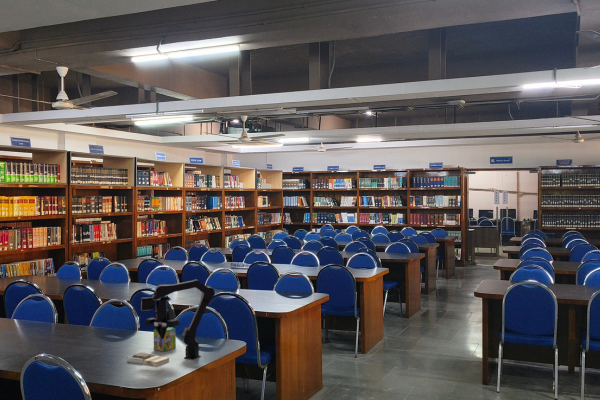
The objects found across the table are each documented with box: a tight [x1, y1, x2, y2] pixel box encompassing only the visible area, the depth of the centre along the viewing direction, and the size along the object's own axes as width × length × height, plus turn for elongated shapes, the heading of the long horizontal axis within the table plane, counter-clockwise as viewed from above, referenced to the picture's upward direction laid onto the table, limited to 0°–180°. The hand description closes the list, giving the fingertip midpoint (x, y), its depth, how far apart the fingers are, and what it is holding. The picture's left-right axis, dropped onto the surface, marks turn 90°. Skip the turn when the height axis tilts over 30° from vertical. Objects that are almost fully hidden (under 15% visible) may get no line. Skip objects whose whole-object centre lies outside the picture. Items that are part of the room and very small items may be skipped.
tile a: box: [139, 354, 150, 361], centre depth 276 cm, size 4×4×2 cm
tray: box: [126, 351, 157, 365], centre depth 277 cm, size 10×10×2 cm
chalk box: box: [153, 327, 177, 352], centre depth 299 cm, size 9×9×15 cm
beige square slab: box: [143, 355, 170, 367], centre depth 272 cm, size 9×9×2 cm
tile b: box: [132, 352, 143, 358], centre depth 278 cm, size 4×4×2 cm
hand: (162, 338), depth 275 cm, fingers closed
